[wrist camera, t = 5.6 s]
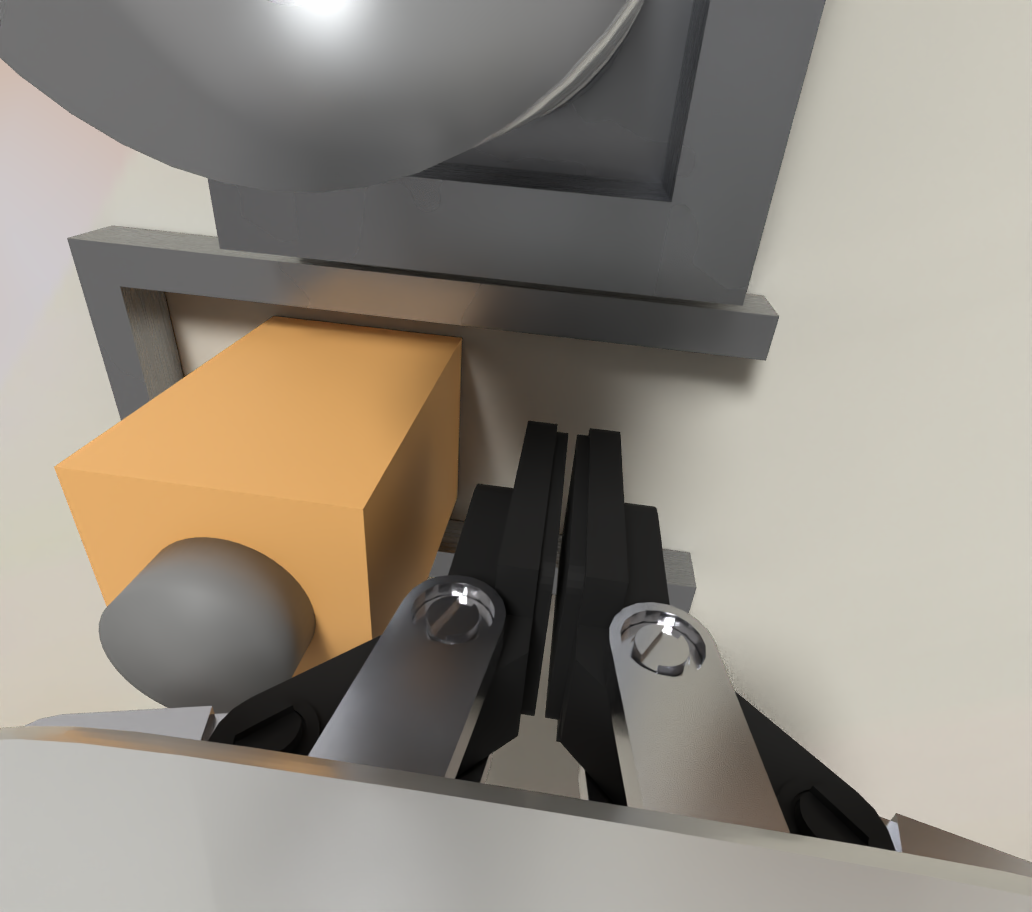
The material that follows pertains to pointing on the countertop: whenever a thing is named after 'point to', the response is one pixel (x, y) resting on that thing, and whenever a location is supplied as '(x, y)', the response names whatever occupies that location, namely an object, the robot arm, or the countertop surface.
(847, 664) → the countertop surface
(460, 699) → the robot arm
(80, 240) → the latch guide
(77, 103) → the silver metal cylinder
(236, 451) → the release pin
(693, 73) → the socket
